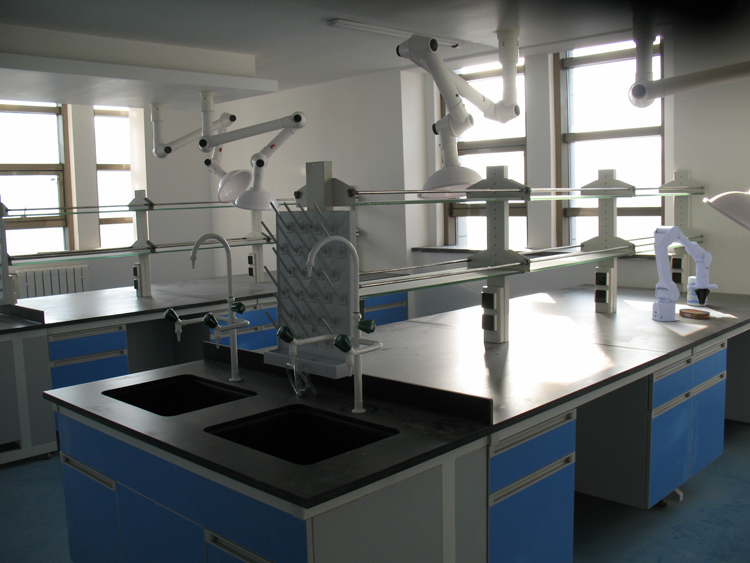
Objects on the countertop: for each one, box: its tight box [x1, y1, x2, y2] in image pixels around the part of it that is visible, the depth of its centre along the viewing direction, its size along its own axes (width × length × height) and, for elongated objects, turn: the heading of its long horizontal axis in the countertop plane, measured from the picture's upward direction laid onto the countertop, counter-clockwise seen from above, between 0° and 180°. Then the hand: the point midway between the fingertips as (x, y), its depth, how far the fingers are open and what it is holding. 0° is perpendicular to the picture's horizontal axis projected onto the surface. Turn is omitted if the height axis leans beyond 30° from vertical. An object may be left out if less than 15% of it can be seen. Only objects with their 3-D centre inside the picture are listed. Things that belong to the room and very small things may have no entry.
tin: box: [678, 308, 711, 320], centre depth 321 cm, size 15×3×8 cm
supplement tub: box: [686, 275, 708, 307], centre depth 351 cm, size 10×10×15 cm
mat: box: [708, 310, 731, 319], centre depth 324 cm, size 7×15×1 cm, turn 7°
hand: (701, 304), depth 322 cm, fingers closed
